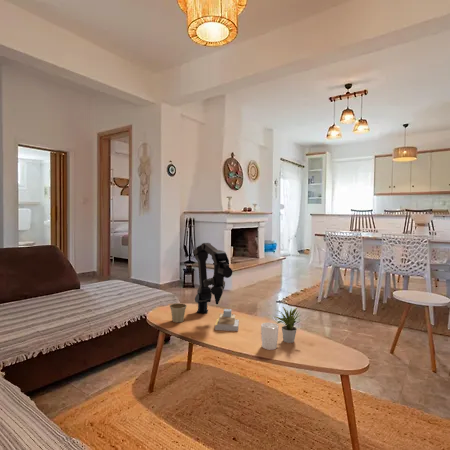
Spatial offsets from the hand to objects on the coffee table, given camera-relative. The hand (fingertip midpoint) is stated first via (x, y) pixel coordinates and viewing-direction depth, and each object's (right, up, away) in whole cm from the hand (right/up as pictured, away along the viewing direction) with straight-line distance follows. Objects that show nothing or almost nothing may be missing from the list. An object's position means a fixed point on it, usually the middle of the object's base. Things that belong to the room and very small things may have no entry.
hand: (217, 301), depth 181 cm
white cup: (+24, -13, -32) cm, 43 cm away
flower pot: (-22, -11, 0) cm, 25 cm away
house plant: (+35, -13, -23) cm, 44 cm away
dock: (+5, -12, -7) cm, 15 cm away
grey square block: (+5, -6, -7) cm, 11 cm away
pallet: (+5, -9, -7) cm, 13 cm away
